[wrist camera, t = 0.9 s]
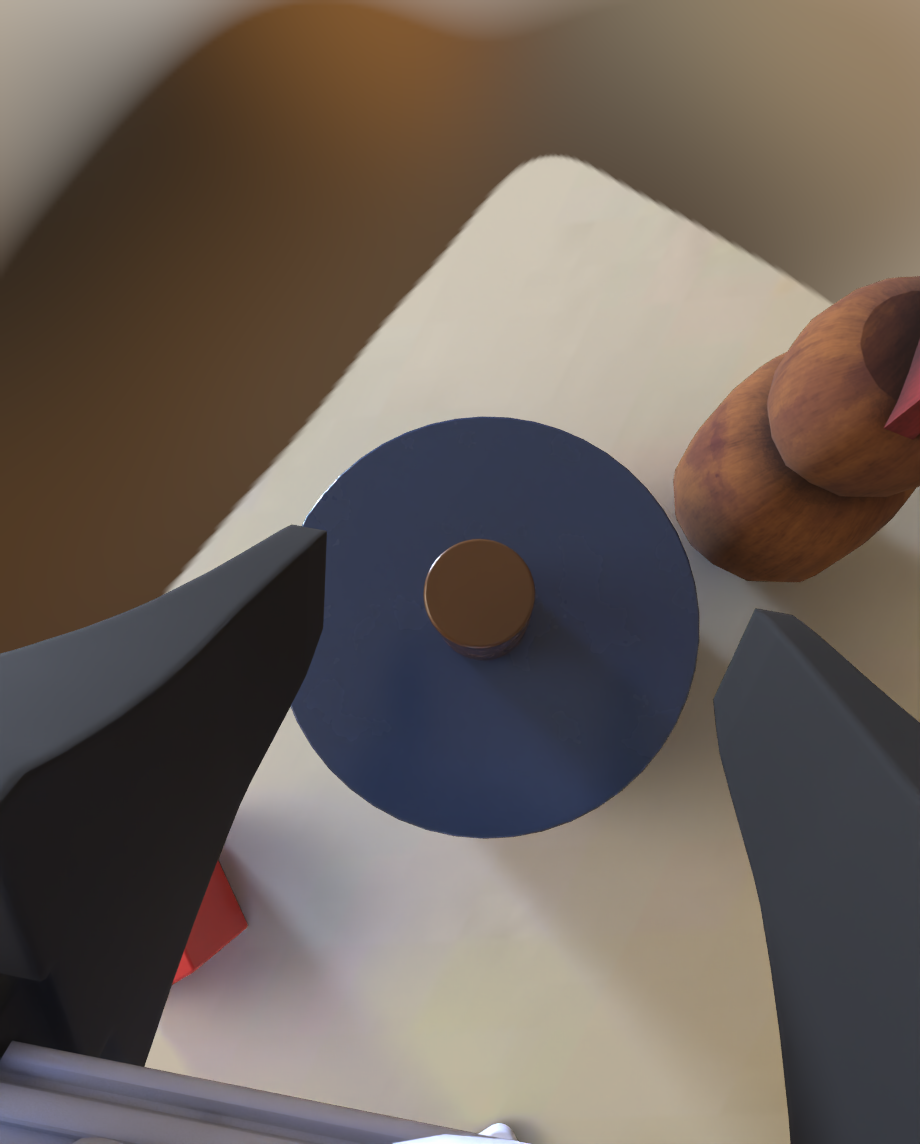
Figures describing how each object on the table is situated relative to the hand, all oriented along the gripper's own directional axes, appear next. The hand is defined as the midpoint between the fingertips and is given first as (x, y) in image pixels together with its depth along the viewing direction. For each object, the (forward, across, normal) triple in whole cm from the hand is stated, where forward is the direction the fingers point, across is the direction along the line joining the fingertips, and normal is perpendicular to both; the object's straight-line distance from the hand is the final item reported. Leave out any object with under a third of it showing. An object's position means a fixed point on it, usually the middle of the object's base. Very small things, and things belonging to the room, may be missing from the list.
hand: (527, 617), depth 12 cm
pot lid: (+5, +1, +4) cm, 7 cm away
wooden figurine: (+14, -8, +4) cm, 17 cm away
